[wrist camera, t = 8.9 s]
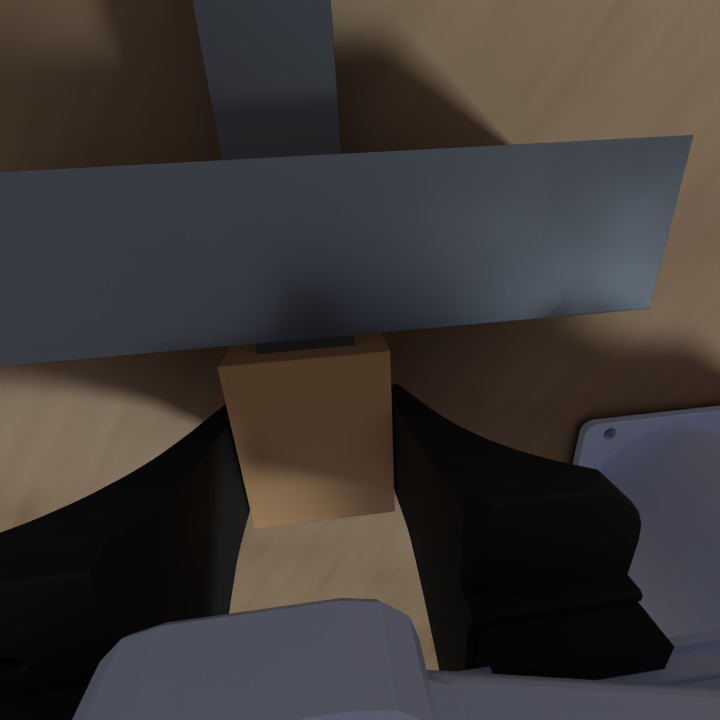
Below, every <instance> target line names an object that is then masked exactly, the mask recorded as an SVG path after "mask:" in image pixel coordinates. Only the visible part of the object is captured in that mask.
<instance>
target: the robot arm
mask: <svg viewBox="0 0 720 720" xmlns="http://www.w3.org/2000/svg"><path fill="white" fill-rule="evenodd" d="M391 395H392V431H393V467H394V490H395V493H396V496H397V498H398V501H399V504H400V507H401V510H402V513H403V516H404V519H405V522H406V525H407V528H408V531H409V535H410V538H411V542H412V547H413V551H414V555H415V559H416V564H417V568H418V572H419V577H420V581H421V586H422V590H423V595H424V599H425V604H426V608H427V613H428V618H429V623H430V627H431V632H432V637H433V641H434V646H435V651H436V656H437V661H438V666H439V671H438V670H426V666H425V662H424V658H423V653H422V649H421V645H420V640H419V637H418V635H417V633H416V630H415V628H414V626H413V624H412V621H411V619H410V617H409V616H408V615H406V614H404V613H402V612H400V611H398V610H396V609H394V608H392V607H390V606H388V605H386V604H384V603H382V602H380V601H379V600H377V599H354V598H338V599H331V600H324V601H317V602H310V603H302V604H295V605H288V606H281V607H274V608H267V609H260V610H253V611H246V612H239V613H231V614H229V610H230V603H231V596H232V589H233V583H234V577H235V570H236V564H237V559H238V554H239V550H240V545H241V542H242V538H243V534H244V530H245V527H246V523H247V519H248V516H249V512H250V506H249V502H248V498H247V493H246V489H245V485H244V480H243V476H242V472H241V467H240V463H239V459H238V454H237V450H236V446H235V441H234V437H233V433H232V428H231V424H230V420H229V415H228V411H227V407H226V404H225V405H224V406H223V407H221V408H220V409H219V410H218V411H216V412H215V413H214V414H213V415H211V416H210V417H209V418H208V419H207V420H205V421H204V422H203V423H202V424H200V425H199V426H198V427H197V428H195V429H194V430H193V431H192V432H191V433H189V434H188V435H187V436H185V437H184V438H182V439H181V440H180V441H178V442H177V443H176V444H174V445H173V446H172V447H170V448H169V449H168V450H166V451H165V452H163V453H162V454H161V455H159V456H158V457H156V458H154V459H153V460H151V461H150V462H148V463H147V464H145V465H143V466H142V467H140V468H139V469H137V470H135V471H134V472H132V473H130V474H128V475H127V476H125V477H123V478H121V479H119V480H117V481H116V482H114V483H112V484H110V485H108V486H106V487H104V488H102V489H100V490H98V491H96V492H95V493H93V494H91V495H89V496H87V497H85V498H83V499H80V500H78V501H76V502H74V503H72V504H70V505H67V506H65V507H63V508H61V509H58V510H56V511H54V512H51V513H49V514H47V515H45V516H42V517H40V518H37V519H35V520H32V521H30V522H28V523H25V524H22V525H20V526H17V527H14V528H12V529H9V530H6V531H4V532H1V533H0V720H720V406H711V407H702V408H693V409H684V410H675V411H666V412H657V413H648V414H639V415H630V416H621V417H612V418H603V419H594V420H590V421H588V422H586V423H585V424H584V425H583V426H582V427H581V429H580V432H579V436H578V441H577V446H576V451H575V455H574V460H573V464H569V463H564V462H559V461H554V460H550V459H546V458H543V457H539V456H535V455H532V454H528V453H525V452H521V451H518V450H515V449H512V448H509V447H506V446H504V445H501V444H498V443H496V442H493V441H490V440H488V439H486V438H483V437H481V436H479V435H477V434H474V433H472V432H470V431H468V430H466V429H464V428H462V427H460V426H458V425H456V424H455V423H453V422H451V421H449V420H448V419H446V418H444V417H443V416H441V415H439V414H438V413H436V412H435V411H433V410H432V409H430V408H429V407H427V406H426V405H425V404H423V403H422V402H421V401H419V400H418V399H416V398H415V397H414V396H412V395H411V394H410V393H409V392H407V391H406V390H405V389H403V388H402V387H401V386H399V385H398V384H395V385H391ZM606 430H607V431H606ZM605 431H606V432H605ZM604 432H605V433H604Z"/></svg>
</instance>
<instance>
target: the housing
mask: <svg viewBox="0 0 720 720" xmlns="http://www.w3.org/2000/svg"><path fill="white" fill-rule="evenodd" d="M692 139H693V135H685V136H666V137H648V138H629V139H610V140H592V141H573V142H554V143H535V144H517V145H498V146H479V147H461V148H442V149H423V150H405V151H386V152H367V153H348V154H330V155H311V156H292V157H274V158H255V159H236V160H217V161H199V162H180V163H161V164H143V165H124V166H105V167H86V168H68V169H49V170H30V171H12V172H0V366H11V365H22V364H34V363H45V362H56V361H67V360H78V359H90V358H101V357H112V356H123V355H134V354H146V353H157V352H168V351H179V350H191V349H202V348H213V347H224V346H235V345H247V344H258V343H269V342H280V341H291V340H303V339H314V338H325V337H336V336H348V335H359V334H370V333H381V332H392V331H404V330H415V329H426V328H437V327H448V326H460V325H471V324H482V323H493V322H505V321H516V320H527V319H538V318H549V317H561V316H572V315H583V314H594V313H605V312H617V311H628V310H639V309H649V306H650V302H651V298H652V294H653V290H654V286H655V282H656V278H657V275H658V271H659V267H660V263H661V259H662V255H663V251H664V247H665V244H666V240H667V236H668V232H669V228H670V224H671V220H672V216H673V213H674V209H675V205H676V201H677V197H678V193H679V189H680V185H681V181H682V178H683V174H684V170H685V166H686V162H687V158H688V154H689V150H690V147H691V143H692Z"/></svg>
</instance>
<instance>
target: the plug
mask: <svg viewBox="0 0 720 720" xmlns="http://www.w3.org/2000/svg"><path fill="white" fill-rule="evenodd" d="M192 1H193V6H194V12H195V17H196V23H197V28H198V34H199V39H200V45H201V50H202V56H203V61H204V67H205V72H206V78H207V83H208V89H209V94H210V100H211V105H212V111H213V116H214V122H215V127H216V133H217V138H218V143H219V149H220V154H221V160H236V159H255V158H274V157H292V156H311V155H330V154H341V144H340V129H339V115H338V100H337V86H336V71H335V56H334V42H333V27H332V13H331V0H192ZM217 368H218V372H219V377H220V381H221V385H222V390H223V394H224V398H225V403H226V407H227V411H228V415H229V420H230V424H231V428H232V433H233V437H234V441H235V446H236V450H237V454H238V459H239V463H240V467H241V472H242V476H243V480H244V485H245V489H246V493H247V498H248V502H249V506H250V511H251V515H252V519H253V524H254V528H255V529H257V528H265V527H273V526H281V525H289V524H297V523H305V522H313V521H321V520H329V519H337V518H345V517H353V516H361V515H369V514H377V513H385V512H393V511H395V504H394V467H393V431H392V395H391V359H390V350H389V348H388V345H387V343H386V341H385V339H384V337H383V335H382V333H370V334H359V335H348V336H336V337H325V338H314V339H303V340H291V341H280V342H269V343H258V344H247V345H235V346H230V348H229V349H228V351H227V353H226V354H225V356H224V357H223V359H222V361H221V362H220V364H219V365H218V367H217Z"/></svg>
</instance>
